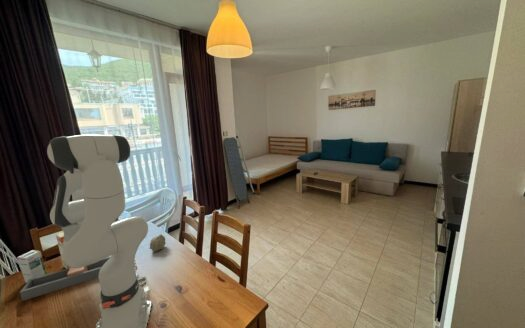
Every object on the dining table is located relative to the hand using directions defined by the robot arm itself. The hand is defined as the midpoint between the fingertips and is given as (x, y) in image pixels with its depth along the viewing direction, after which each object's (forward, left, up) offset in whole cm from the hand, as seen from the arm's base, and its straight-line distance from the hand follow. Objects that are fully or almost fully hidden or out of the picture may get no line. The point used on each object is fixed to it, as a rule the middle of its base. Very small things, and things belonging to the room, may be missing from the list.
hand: (94, 243), depth 104 cm
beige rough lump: (+5, -28, -17) cm, 32 cm away
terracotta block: (0, +8, -15) cm, 17 cm away
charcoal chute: (0, +11, -16) cm, 19 cm away
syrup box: (+11, +27, -17) cm, 34 cm away
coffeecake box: (+17, +10, -17) cm, 26 cm away
